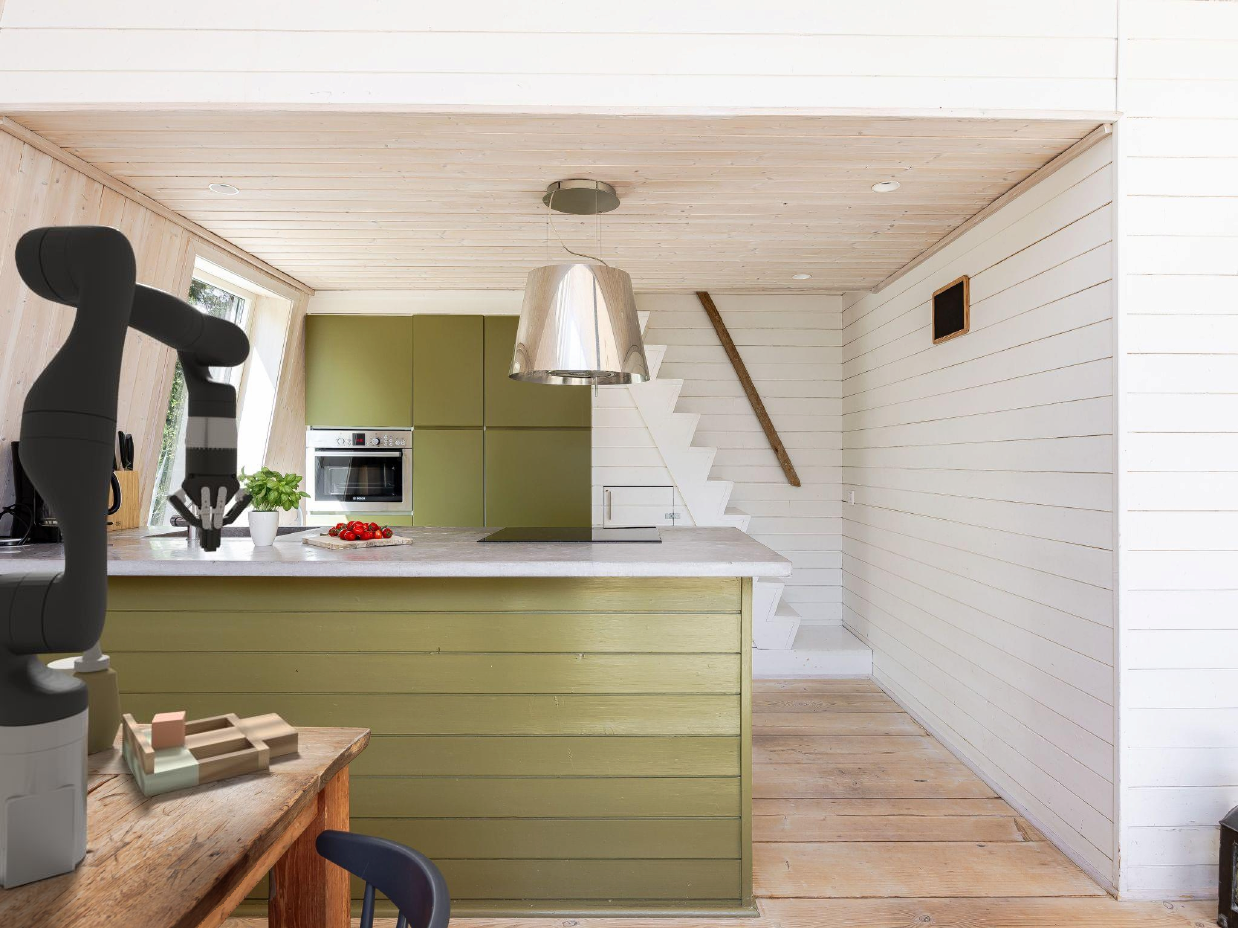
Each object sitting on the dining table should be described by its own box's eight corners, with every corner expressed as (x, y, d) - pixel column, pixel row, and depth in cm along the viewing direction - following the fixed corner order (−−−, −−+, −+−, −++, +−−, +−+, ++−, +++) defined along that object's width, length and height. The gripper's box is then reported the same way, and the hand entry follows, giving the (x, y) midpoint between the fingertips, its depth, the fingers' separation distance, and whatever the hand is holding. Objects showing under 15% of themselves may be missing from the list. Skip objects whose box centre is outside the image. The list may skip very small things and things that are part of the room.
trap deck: (306, 759, 118) (307, 720, 118) (145, 797, 104) (146, 753, 104) (267, 723, 134) (267, 689, 134) (122, 752, 120) (122, 714, 120)
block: (182, 745, 115) (182, 719, 115) (151, 749, 113) (151, 722, 113) (185, 736, 119) (185, 710, 119) (155, 739, 117) (155, 714, 117)
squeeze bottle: (105, 735, 127) (107, 627, 126) (131, 745, 122) (133, 633, 122) (49, 751, 120) (51, 636, 120) (74, 762, 116) (76, 643, 115)
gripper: (170, 444, 118) (168, 556, 118) (261, 446, 127) (259, 551, 127) (160, 444, 124) (159, 551, 124) (248, 446, 132) (247, 546, 133)
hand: (210, 551), depth 125 cm, fingers closed
